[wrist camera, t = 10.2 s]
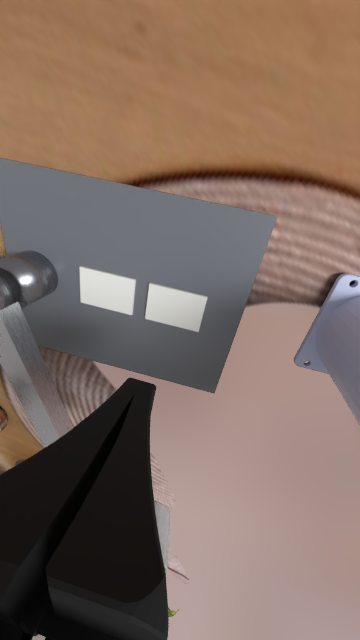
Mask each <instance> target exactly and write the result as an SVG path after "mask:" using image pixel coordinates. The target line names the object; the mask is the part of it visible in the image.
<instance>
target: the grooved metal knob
mask: <svg viewBox="0 0 360 640" xmlns="http://www.w3.org/2000/svg"><path fill="white" fill-rule="evenodd" d="M0 268H2V269H4V270H6V271H7V272H9V273H10V274H11V275H12V276H13V277H14V278H15V279H16V281H17V282H18V284H19V286H20V289H21V300H20V302H19V305H20V307H21V309H22V308H24V307H26V306H28V305H30V304H31V303H33V302H35V301H37V300H39V299H41V298H43V297H45V296H47V295H49V294H50V293H52V292H54V291H55V289H56V288H57V285H58V276H57V272H56V270H55V268H54V266H53V264H52V263H51V262H50V261H49V260H48V259H47V258H46V257H45V256H44V255H42V254H40V253H38V252H35V251H24V252H20V253H16V254H12V255H8V256H4V257H0Z"/></svg>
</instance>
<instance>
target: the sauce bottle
mask: <svg viewBox="0 0 360 640" xmlns="http://www.w3.org/2000/svg"><path fill="white" fill-rule="evenodd" d="M6 425H7V416H6V414H5V412H4V411H3V410H2V409H1V408H0V433H1V431H2V430H3V429H4V428H5V426H6Z"/></svg>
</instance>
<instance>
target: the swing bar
mask: <svg viewBox="0 0 360 640" xmlns="http://www.w3.org/2000/svg"><path fill="white" fill-rule="evenodd" d="M20 300H21V289H20V286H19V284H18V282H17V281H16V279H15V278H14V277H13V276H12V275H11V274H10V273H9V272H7V271H6V270H4V269H2V268H0V364H1V366H2V368H3V370H4V372H5V373H6V375H7V377H8V379H9V381H10V383H11V384H12V386H13V388H14V390H15V392H16V394H17V396H18V397H19V399H20V401H21V403H22V405H23V407H24V408H25V410H26V412H27V414H28V416H29V418H30V420H31V421H32V423H33V425H34V427H35V429H36V431H37V432H38V434H39V436H40V438H41V440H42V442H43V444H44V445H45V447H47V446H49V445H50V444H52V443H53V442H55V441H56V440H57V439H59V438H60V437H62V436H63V435H65V434H66V433H67V432H69V431H70V430H71V429H73V427H72V424H71V422H70V420H69V418H68V415H67V413H66V411H65V408H64V406H63V404H62V401H61V399H60V397H59V394H58V392H57V390H56V388H55V385H54V383H53V381H52V378H51V376H50V374H49V371H48V369H47V367H46V364H45V362H44V360H43V358H42V355H41V353H40V351H39V348H38V346H37V344H36V341H35V339H34V337H33V335H32V332H31V330H30V328H29V325H28V323H27V321H26V318H25V316H24V314H23V311H22V309H21V307H20V305H19V302H20Z"/></svg>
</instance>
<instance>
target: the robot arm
mask: <svg viewBox="0 0 360 640" xmlns="http://www.w3.org/2000/svg"><path fill="white" fill-rule="evenodd" d="M353 280H355V283H354V285H351V286H349V284H350V282H351V281H353ZM305 361H309V362H308V363H304V362H305ZM294 362H295V364H296V365H297V366H300V367H304V368H308V369H312V370H316V371H320V372H324V373H327V374H330V376H331V377H332V379H333V381H334V382H335V384H336V386H337V388H338V389H339V391H340V392H341V394H342V396H343V398H344V399H345V401H346V403H347V404H348V406H349V407H350V409H351V411H352V413H353V415H354V416H355V418H356V420H357V421H358V423H359V425H360V276H356V275H352V274H341V275H340V276H338V278H337V279H336V281H335V283H334V285H333V287H332V288H331V290H330V292H329V294H328V296H327V298H326V300H325V301H324V303H323V305H322V307H321V309H320V311H319V313H318V314H317V316H316V318H315V320H314V322H313V324H312V326H311V328H310V329H309V331H308V333H307V335H306V337H305V339H304V340H303V342H302V344H301V346H300V348H299V350H298V352H297V354H296V355H295V357H294ZM155 391H156V386H155V385H154V384H151V383H147V382H144V381H140V380H137V379H133V378H128V379H127V380H126V381H125V382H124V383H123V385H122V386H121V387H120V388H119V389H118V390H117V391H116V392H115V393H114V394H113V395H112V396H111V397H110V398H108V399H107V400H106V401H105V402H104V403H103V404H102V405H101V406H100V407H98V408H97V409H96V410H95V411H94V412H93V413H91V414H90V415H89V416H88V417H87V418H85V419H84V420H83V421H82V422H80V423H79V424H78V425H77V426H75V427H74V428H73V429H71V430H70V431H69V432H67V433H66V434H65V435H63V436H62V437H60V438H59V439H57V440H56V441H55V442H53V443H52V444H50V445H49V446H47V447H45V448H44V449H42V450H41V451H39V452H38V453H36V454H35V455H33V456H31V457H30V458H28V459H27V460H25V461H23V462H21V463H20V464H18V465H16V466H15V467H13V468H11V469H9V470H8V471H6V472H4V473H2V474H1V475H0V640H32V637H33V636H37V635H38V634H40V635H42V636H45V637H46V638H45V640H167V637H168V603H167V589H166V573H165V567H164V562H163V557H162V551H161V545H160V540H159V533H158V527H157V520H156V513H155V505H154V497H153V489H152V478H151V464H150V415H151V410H152V406H153V400H154V396H155Z"/></svg>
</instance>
